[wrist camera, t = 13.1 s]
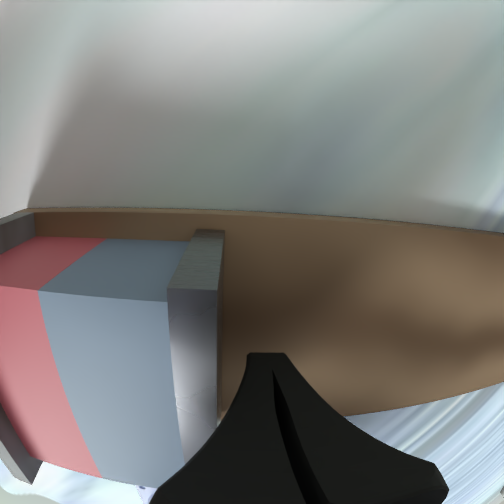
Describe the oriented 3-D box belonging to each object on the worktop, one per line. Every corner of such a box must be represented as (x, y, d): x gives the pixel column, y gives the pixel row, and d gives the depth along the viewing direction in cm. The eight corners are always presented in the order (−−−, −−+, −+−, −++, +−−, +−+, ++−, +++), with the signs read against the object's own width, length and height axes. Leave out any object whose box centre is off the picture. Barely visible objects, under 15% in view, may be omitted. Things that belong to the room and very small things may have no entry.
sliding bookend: (221, 416, 14) (219, 507, 9) (200, 415, 14) (192, 505, 9) (224, 229, 11) (217, 290, 6) (196, 228, 11) (166, 287, 6)
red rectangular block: (129, 399, 13) (102, 478, 9) (68, 388, 13) (30, 456, 8) (106, 238, 11) (37, 290, 6) (36, 236, 11) (-43, 279, 6)
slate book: (200, 406, 14) (192, 492, 9) (129, 399, 13) (102, 478, 9) (196, 241, 11) (171, 302, 7) (106, 238, 11) (37, 290, 6)
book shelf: (509, 370, 16) (561, 423, 10) (62, 386, 14) (11, 475, 8) (552, 240, 14) (626, 275, 7) (26, 208, 12) (-88, 254, 5)
